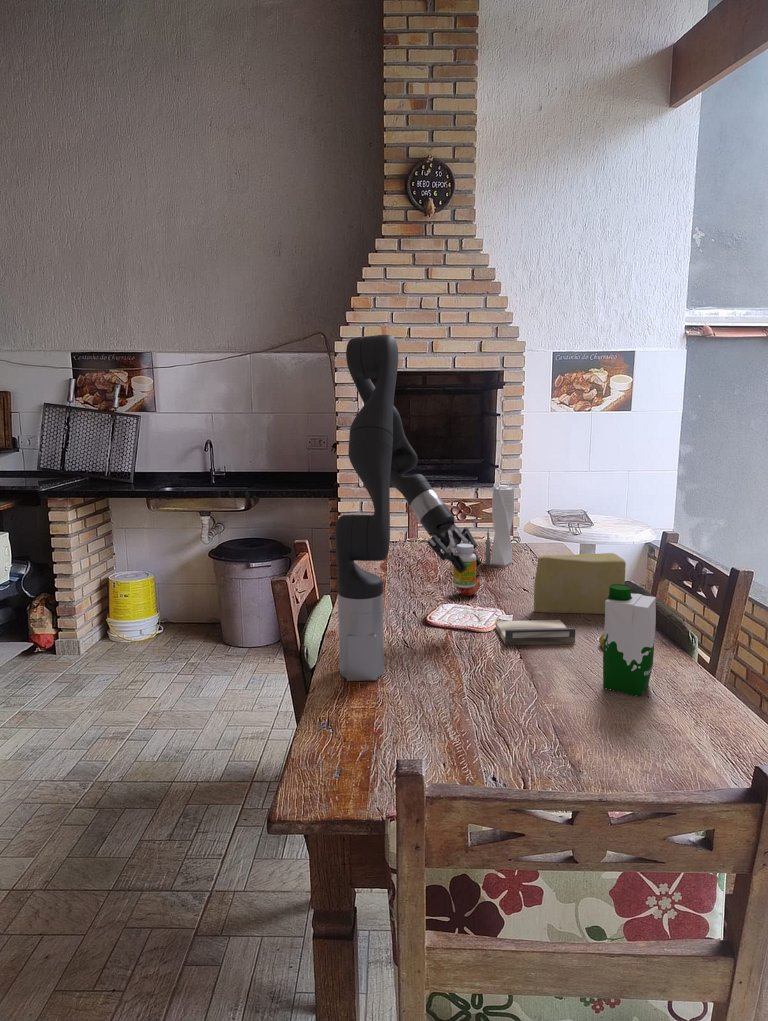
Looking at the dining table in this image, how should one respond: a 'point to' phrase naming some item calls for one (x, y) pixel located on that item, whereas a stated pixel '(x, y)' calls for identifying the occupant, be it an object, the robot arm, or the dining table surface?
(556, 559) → the cheese
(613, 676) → the milk carton
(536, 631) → the shelf board
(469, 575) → the supplement bottle
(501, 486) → the skyscraper
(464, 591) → the pomegranate
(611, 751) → the dining table surface
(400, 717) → the dining table surface
